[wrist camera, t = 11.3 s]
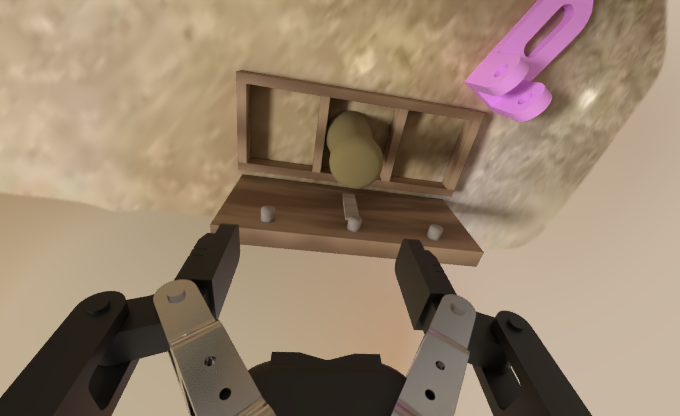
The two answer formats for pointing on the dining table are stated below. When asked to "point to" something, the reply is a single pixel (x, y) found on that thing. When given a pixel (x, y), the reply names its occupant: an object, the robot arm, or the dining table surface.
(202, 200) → the dining table surface
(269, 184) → the wooden peg rack
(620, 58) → the dining table surface
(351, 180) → the olive bulbous cylinder
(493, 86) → the bracket
